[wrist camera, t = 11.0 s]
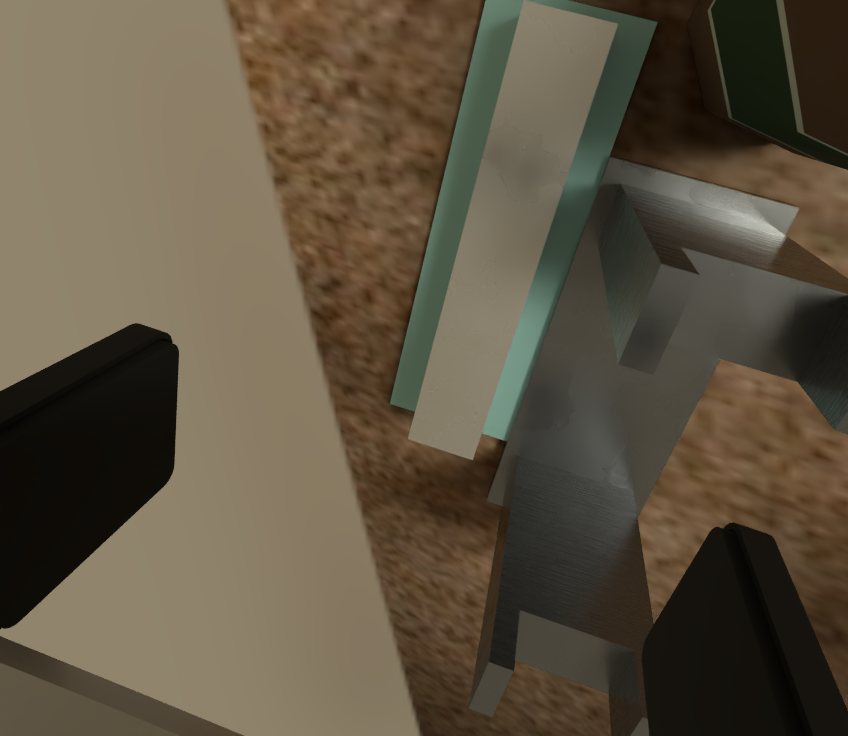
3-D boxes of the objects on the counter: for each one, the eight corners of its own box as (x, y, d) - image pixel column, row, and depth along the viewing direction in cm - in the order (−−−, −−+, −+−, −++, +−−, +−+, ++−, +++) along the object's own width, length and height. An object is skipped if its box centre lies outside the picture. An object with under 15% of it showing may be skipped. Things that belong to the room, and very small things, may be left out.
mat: (656, 23, 21) (657, 21, 20) (507, 437, 29) (506, 441, 29) (491, -18, 21) (490, -20, 21) (391, 400, 30) (389, 403, 29)
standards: (792, 204, 22) (1006, 317, 11) (621, 535, 30) (649, 792, 19) (608, 154, 23) (643, 217, 12) (488, 491, 31) (442, 715, 20)
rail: (612, 31, 21) (618, 23, 18) (481, 425, 29) (472, 460, 26) (529, 11, 21) (523, -1, 18) (422, 406, 29) (407, 439, 26)
